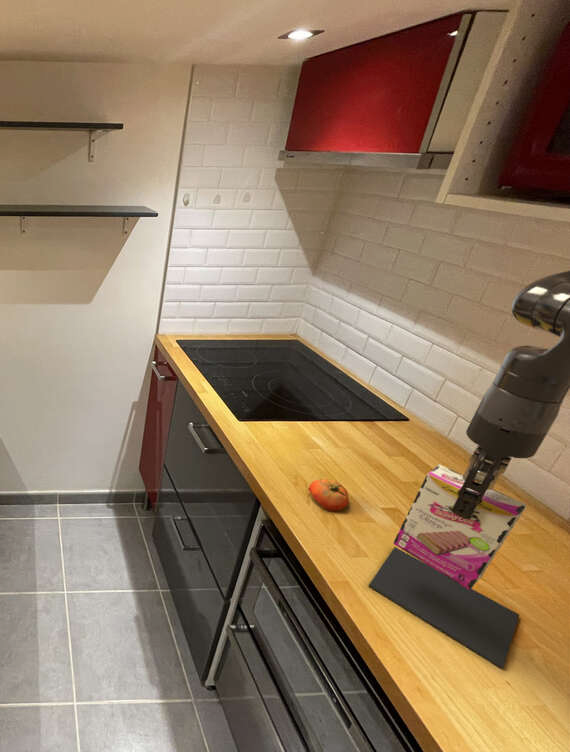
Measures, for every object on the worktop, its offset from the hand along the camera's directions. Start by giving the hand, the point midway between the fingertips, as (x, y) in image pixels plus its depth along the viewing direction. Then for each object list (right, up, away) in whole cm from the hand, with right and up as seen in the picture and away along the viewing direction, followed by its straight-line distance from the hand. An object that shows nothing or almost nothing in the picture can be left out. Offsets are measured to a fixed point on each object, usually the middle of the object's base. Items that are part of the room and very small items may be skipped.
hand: (464, 506), depth 71 cm
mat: (+3, -19, +8) cm, 21 cm away
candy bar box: (0, -11, +5) cm, 13 cm away
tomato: (-2, -9, +30) cm, 32 cm away
